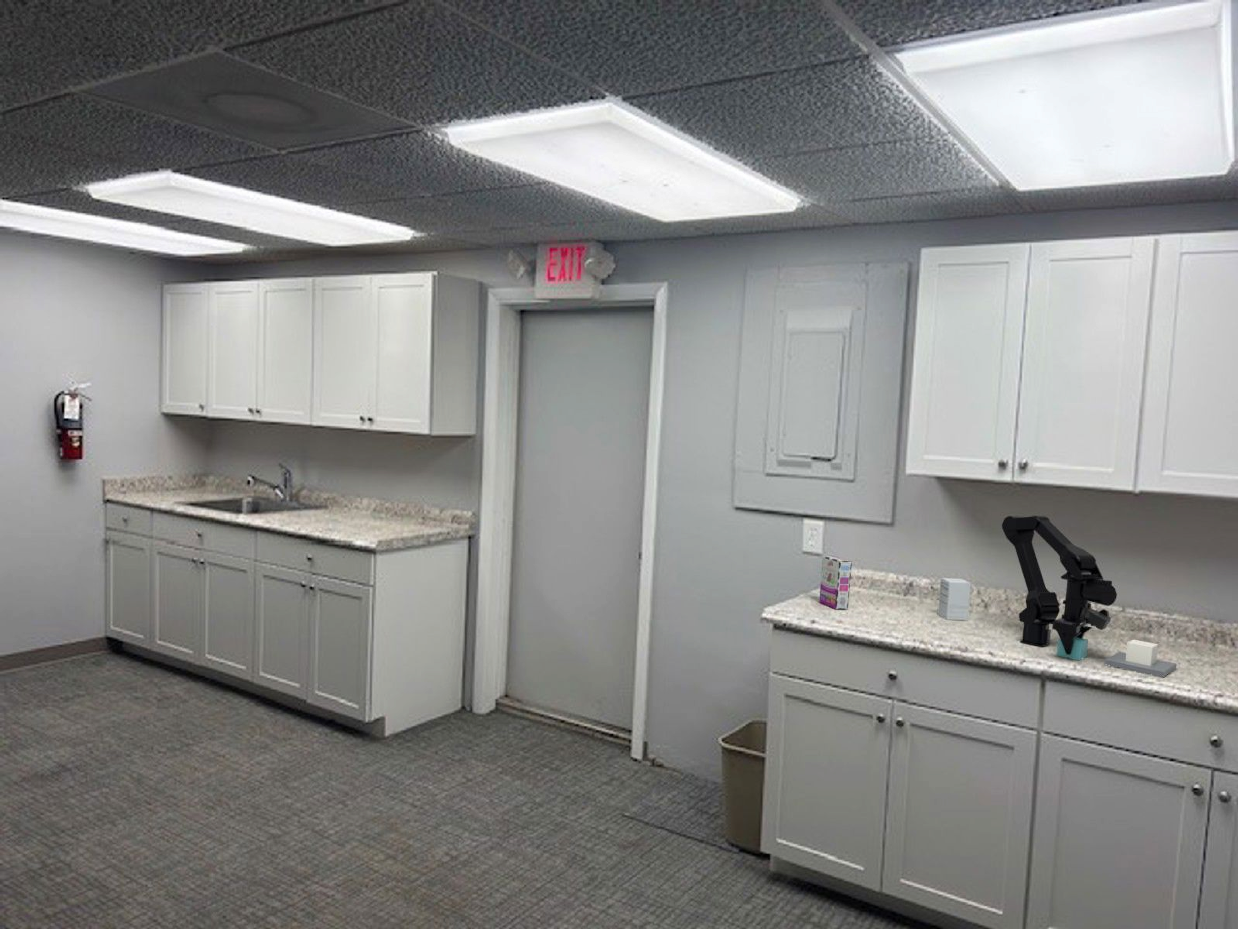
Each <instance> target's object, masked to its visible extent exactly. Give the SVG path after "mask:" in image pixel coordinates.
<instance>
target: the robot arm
mask: <svg viewBox="0 0 1238 929" xmlns="http://www.w3.org/2000/svg"><path fill="white" fill-rule="evenodd" d="M1001 529H1002V530H1003V533H1004V536H1005V537H1006V539H1007V540H1008V541H1009V542H1010V543H1011V545H1013V546H1014V549H1015V552H1016V556H1017V559H1018V562H1019V565H1020V568H1021V572H1022V575H1023V580H1024V582H1025V585H1026V588H1027V594H1026V595H1027V596H1026V598H1025V605H1026V607H1024V609H1023V610H1022V611H1020V612H1019V613H1018V619H1019V621H1020V623H1023V629H1022V639H1020V640H1019V642H1020V643H1024V644H1027V645H1032V646H1037V647H1041V648H1042V647H1046V646H1048V645H1051V633H1052V631H1051V630H1055V631H1056V633H1057V635H1058V638H1060V639H1061V642H1062V644H1063V647H1064V650H1065V652H1066V654H1069V655H1070V654H1071V651H1072V648H1073V644H1074V640H1075V637H1078V638H1083V639H1084V636H1085V635H1086V633H1087V632H1089V631H1090V630H1092V629H1093V627H1095V628H1096V629H1098V630H1104V629H1106V628H1107V627H1108V625H1109V623H1110V622H1111V619H1112V617H1110V611H1108V610H1107V609H1105V608H1103V609H1101V610H1099V611H1098V609H1096V610H1095V609H1094V608H1092V603H1095V604H1098V605H1103V606H1107V607H1110V606H1112V605H1113V604H1114V603H1115V601H1116V599H1117V596H1118V594H1117V593H1118V592H1117V590H1116V588H1115V587H1114V585H1112V584H1113V581H1112V580H1109V579H1104V577H1103V574H1102V573H1101V571H1100V568H1099V567H1098V565H1097V560H1096V558H1095V557H1094V555H1092V554H1091V553H1089V552H1088V551H1087V550H1085V549H1083V548H1081V547H1079V546H1077V545H1075V544H1074V543H1072V542H1071V541H1070V540H1069V539H1068V538H1067V537H1066V536H1065V535H1064V534H1063V533H1062V532H1061V530H1059V529H1058V528H1057V527H1056V526H1055V525H1054V524H1053V523H1052V522H1051V521H1050V519H1049V517H1047V516H1045V515H1031V516H1024V515H1023V516H1019V515H1015V516H1014V515H1008V516H1006V517H1005V518H1004V519H1003V521H1002V523H1001ZM1035 532H1036V533H1037V534H1038V535H1039V536H1040V537H1041V538H1042V540H1044V542H1046V543H1047V544H1048V545H1049V547H1051V548H1052V549H1053V550H1054V551H1055V553H1056V554H1057V555H1058V557H1059V561H1060V563H1061V565H1062V566H1063V568H1064V569H1065V571H1066V572H1065V573H1064V574H1063V575H1061V576H1060V579H1062V580H1066V587H1065V588H1066V589H1065V590H1066V591H1065V599H1063V600H1062V605H1064V610H1063V611H1064V612H1063V613H1062V614H1061V617H1060V618H1058V616H1059V614H1060V610H1061V609H1060V606H1061V603H1060V602H1059V600H1058V596H1057V592H1055V591H1052V592H1050V591H1049V589H1047V587H1046V584H1045V580H1044V577H1043V575H1042V574H1043V573H1042V570H1041V568H1040V565H1039V561H1038V558H1037V555H1036V550H1035V549H1034V545H1033V539H1034V536H1035ZM1091 602H1092V603H1091ZM1050 625H1052V627H1051V628H1052V629H1050ZM1088 625H1090V626H1088Z"/></svg>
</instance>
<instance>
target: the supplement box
mask: <svg viewBox="0 0 1238 929" xmlns="http://www.w3.org/2000/svg"><path fill="white" fill-rule="evenodd" d="M939 586H940V587H939V598H938V610H937V611H938V612H937V614H938V616H939V617H941V618H943V619H944V620H947V621H948V620H949V621H967V622H968V621H969V612H970V599H971V598H970V597H971V587H972V584H971V582H970V581H967V580H965V579H963V578H951V577H940V584H939Z"/></svg>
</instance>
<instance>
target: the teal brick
mask: <svg viewBox="0 0 1238 929" xmlns="http://www.w3.org/2000/svg"><path fill="white" fill-rule="evenodd" d="M1057 640H1058V641H1057V651H1056V656H1058V657H1063V658H1067V657H1068V659H1071V658H1072V660H1076V661H1082V660H1083V659H1082V658H1084V657H1086V658H1087V655H1088V647H1089V646H1088V645H1089V643H1088V642H1089V639H1088V638H1084V637H1083V638H1078V637H1075V640H1074V644H1073V648H1072V651H1071V654H1070V655H1069V654H1066V652H1065V650H1064V647H1063V644H1062V642H1061V639H1060V637H1058V639H1057ZM1081 659H1082V660H1081ZM1084 659H1085V658H1084Z"/></svg>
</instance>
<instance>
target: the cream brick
mask: <svg viewBox="0 0 1238 929" xmlns="http://www.w3.org/2000/svg"><path fill="white" fill-rule="evenodd" d="M1158 646H1159V644H1158V643H1157V644H1156V643H1153V642H1147V641H1142V640H1138V639H1132V640H1130V641H1127V642H1126V651H1125V653H1126V661H1129V662H1134V663H1139V664H1143V665H1148V666H1151V665H1153V664H1155V663H1156V660H1158Z"/></svg>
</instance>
